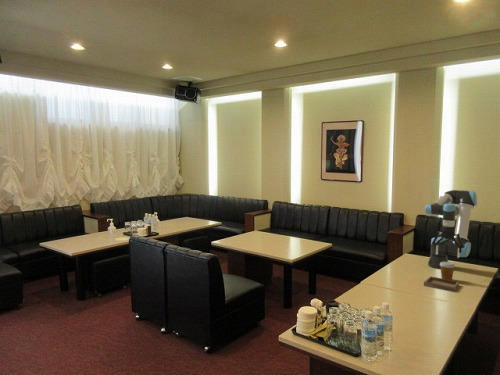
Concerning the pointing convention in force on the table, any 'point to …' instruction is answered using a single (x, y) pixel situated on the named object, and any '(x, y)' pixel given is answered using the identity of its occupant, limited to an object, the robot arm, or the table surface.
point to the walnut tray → (441, 284)
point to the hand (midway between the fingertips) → (447, 255)
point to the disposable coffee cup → (447, 270)
